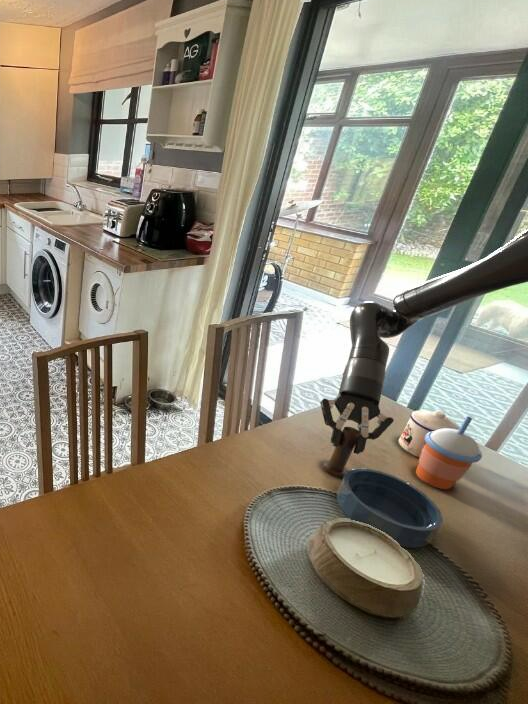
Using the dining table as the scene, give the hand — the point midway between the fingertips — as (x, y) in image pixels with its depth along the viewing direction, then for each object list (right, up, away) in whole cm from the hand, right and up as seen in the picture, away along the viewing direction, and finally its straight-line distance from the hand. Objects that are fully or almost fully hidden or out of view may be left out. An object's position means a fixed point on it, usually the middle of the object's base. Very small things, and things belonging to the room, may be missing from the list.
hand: (346, 449), depth 93 cm
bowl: (+2, -12, -7) cm, 14 cm away
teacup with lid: (+27, -4, +10) cm, 30 cm away
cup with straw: (+22, -8, +3) cm, 24 cm away
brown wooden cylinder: (+1, -7, +5) cm, 8 cm away
